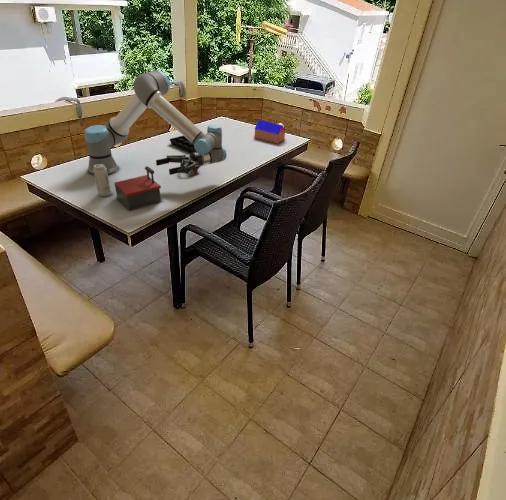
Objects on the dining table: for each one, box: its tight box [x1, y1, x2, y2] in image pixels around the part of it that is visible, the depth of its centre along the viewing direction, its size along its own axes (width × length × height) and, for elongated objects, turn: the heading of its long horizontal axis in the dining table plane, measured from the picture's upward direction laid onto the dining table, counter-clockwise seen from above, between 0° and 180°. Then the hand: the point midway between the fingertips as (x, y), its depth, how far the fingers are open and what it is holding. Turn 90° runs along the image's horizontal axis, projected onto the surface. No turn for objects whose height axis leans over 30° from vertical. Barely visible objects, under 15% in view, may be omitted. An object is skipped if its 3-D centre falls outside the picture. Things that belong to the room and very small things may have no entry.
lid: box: [113, 165, 162, 197], centre depth 166 cm, size 17×15×8 cm
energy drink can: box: [93, 164, 112, 197], centre depth 170 cm, size 6×6×15 cm
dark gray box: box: [114, 184, 162, 211], centre depth 170 cm, size 16×15×7 cm
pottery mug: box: [179, 163, 201, 176], centre depth 201 cm, size 12×10×8 cm
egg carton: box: [169, 135, 196, 153], centre depth 234 cm, size 18×30×4 cm, turn 60°
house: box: [254, 119, 287, 144], centre depth 256 cm, size 12×20×12 cm, turn 58°
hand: (162, 167), depth 171 cm, fingers open, 13 cm apart
